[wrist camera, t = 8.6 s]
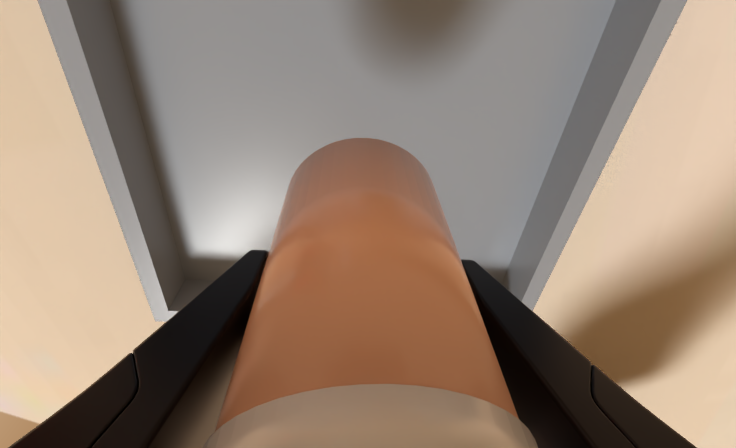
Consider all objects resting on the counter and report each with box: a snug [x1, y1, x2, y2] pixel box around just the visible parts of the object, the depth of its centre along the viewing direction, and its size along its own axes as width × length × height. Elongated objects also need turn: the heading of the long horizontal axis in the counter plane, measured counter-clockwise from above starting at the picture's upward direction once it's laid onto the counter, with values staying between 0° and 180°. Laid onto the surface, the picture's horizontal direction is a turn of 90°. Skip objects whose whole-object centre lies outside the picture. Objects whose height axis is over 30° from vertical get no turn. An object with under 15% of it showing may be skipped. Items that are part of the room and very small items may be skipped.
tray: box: [38, 0, 687, 322], centre depth 15 cm, size 19×19×3 cm
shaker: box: [202, 138, 538, 448], centre depth 8 cm, size 5×5×8 cm
